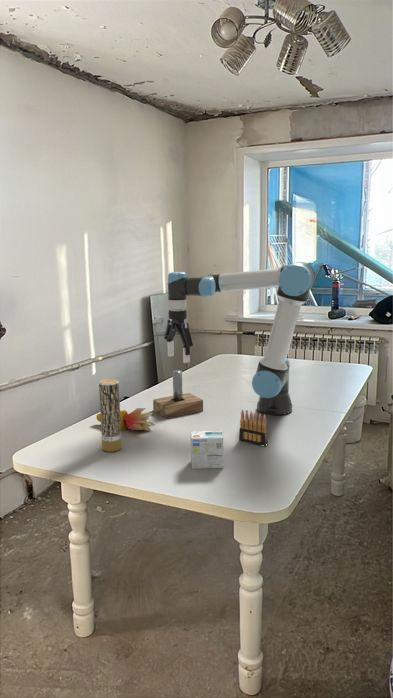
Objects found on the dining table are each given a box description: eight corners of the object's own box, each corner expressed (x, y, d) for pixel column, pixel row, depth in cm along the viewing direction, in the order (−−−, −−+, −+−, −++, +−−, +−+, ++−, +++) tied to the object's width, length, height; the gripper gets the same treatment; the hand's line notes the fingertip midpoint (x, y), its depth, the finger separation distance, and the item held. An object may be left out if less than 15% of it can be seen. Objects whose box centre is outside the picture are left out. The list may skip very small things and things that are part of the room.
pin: (184, 407, 227) (183, 371, 223) (176, 409, 225) (175, 373, 221) (180, 405, 230) (179, 369, 227) (172, 406, 228) (170, 371, 225)
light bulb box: (222, 460, 177) (222, 429, 175) (224, 468, 171) (224, 437, 169) (190, 460, 177) (190, 430, 175) (191, 469, 171) (190, 438, 168)
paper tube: (112, 443, 192) (109, 377, 187) (125, 448, 188) (122, 380, 183) (98, 449, 187) (94, 381, 182) (111, 454, 183) (107, 385, 178)
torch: (100, 432, 214) (156, 432, 204) (90, 429, 207) (146, 429, 197) (103, 412, 216) (157, 411, 207) (92, 408, 209) (148, 407, 200)
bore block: (203, 410, 227) (203, 399, 226) (166, 418, 218) (165, 406, 217) (189, 403, 237) (189, 392, 236) (153, 410, 228) (153, 399, 227)
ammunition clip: (238, 440, 194) (239, 409, 191) (241, 439, 195) (241, 408, 193) (265, 446, 188) (265, 414, 186) (267, 445, 190) (268, 413, 187)
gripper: (200, 312, 210) (201, 363, 215) (171, 305, 231) (172, 352, 236) (184, 313, 206) (185, 366, 211) (155, 307, 227) (157, 355, 232)
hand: (178, 359), depth 223 cm, fingers open, 13 cm apart
